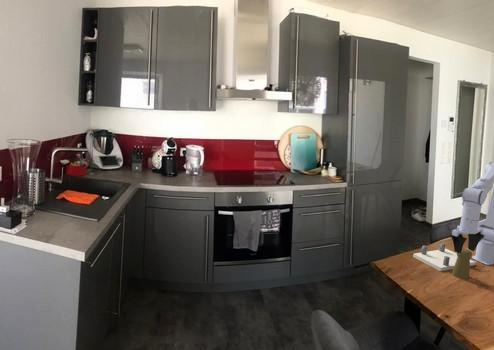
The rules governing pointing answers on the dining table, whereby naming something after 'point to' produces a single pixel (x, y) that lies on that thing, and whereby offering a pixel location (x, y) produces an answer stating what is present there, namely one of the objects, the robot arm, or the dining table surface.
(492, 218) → the robot arm
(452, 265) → the peg board
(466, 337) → the dining table surface
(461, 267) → the olive rounded cylinder
